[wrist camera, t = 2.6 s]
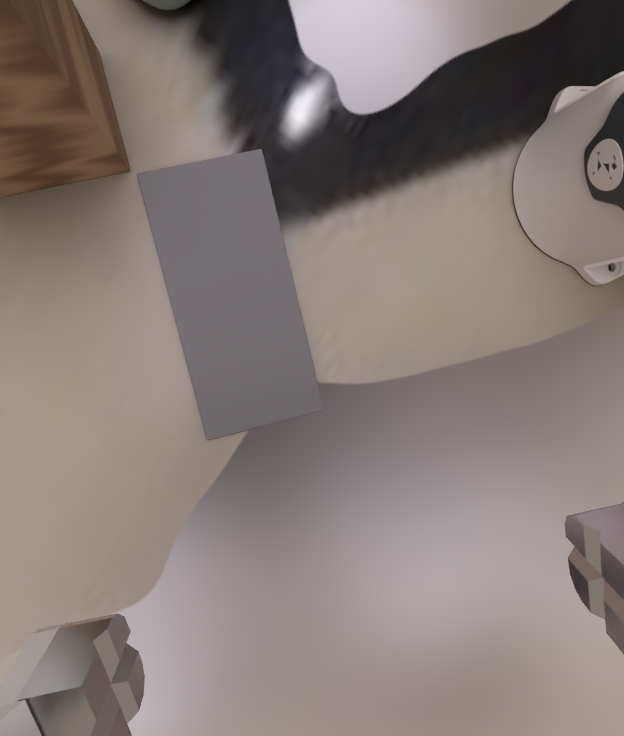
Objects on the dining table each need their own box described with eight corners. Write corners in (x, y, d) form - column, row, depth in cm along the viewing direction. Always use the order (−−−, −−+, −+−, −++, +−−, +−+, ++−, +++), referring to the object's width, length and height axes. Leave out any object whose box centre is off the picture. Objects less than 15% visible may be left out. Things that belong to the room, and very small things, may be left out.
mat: (261, 150, 46) (261, 148, 46) (323, 409, 49) (323, 409, 48) (137, 175, 45) (136, 173, 45) (207, 439, 47) (207, 440, 47)
